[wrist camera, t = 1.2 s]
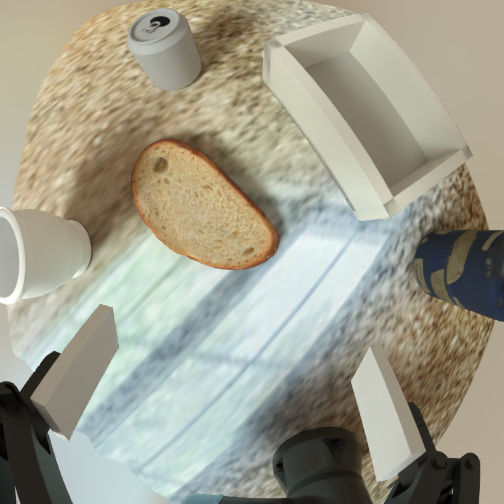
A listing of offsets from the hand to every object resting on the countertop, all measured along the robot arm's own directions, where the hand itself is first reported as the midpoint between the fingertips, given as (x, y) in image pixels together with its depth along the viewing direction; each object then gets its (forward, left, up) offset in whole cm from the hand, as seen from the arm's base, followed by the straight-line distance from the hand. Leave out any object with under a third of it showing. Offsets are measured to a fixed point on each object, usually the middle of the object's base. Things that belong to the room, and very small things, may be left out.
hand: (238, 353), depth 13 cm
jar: (+17, +20, -22) cm, 34 cm away
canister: (-13, -24, -22) cm, 35 cm away
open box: (+10, -24, -22) cm, 34 cm away
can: (+30, -7, -22) cm, 38 cm away
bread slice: (+11, 0, -22) cm, 25 cm away
